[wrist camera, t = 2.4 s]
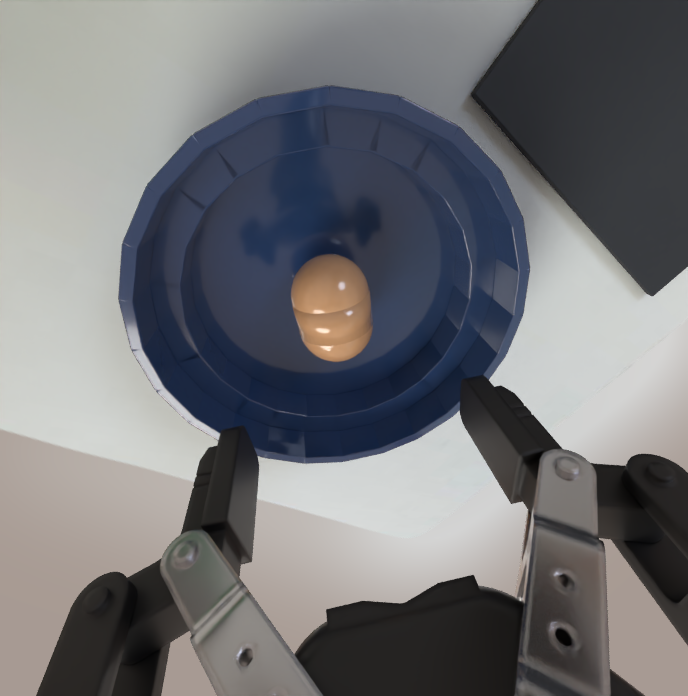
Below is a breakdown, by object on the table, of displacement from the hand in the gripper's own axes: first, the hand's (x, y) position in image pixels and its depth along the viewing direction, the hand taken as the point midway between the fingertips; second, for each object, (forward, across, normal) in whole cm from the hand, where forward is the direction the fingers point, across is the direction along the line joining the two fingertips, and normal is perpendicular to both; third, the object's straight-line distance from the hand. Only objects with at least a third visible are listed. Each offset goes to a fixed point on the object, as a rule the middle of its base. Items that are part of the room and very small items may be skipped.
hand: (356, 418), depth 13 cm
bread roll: (+11, 0, 0) cm, 11 cm away
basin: (+11, 0, 0) cm, 11 cm away
